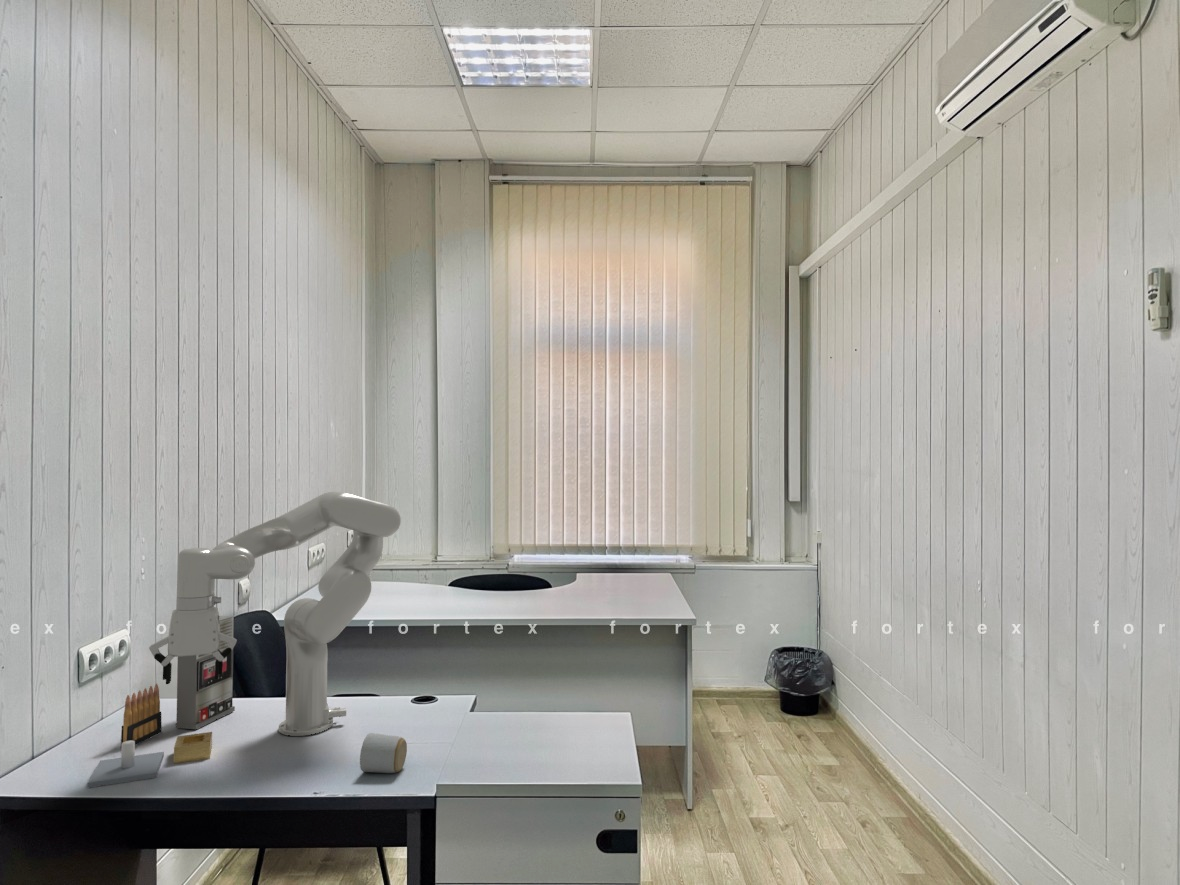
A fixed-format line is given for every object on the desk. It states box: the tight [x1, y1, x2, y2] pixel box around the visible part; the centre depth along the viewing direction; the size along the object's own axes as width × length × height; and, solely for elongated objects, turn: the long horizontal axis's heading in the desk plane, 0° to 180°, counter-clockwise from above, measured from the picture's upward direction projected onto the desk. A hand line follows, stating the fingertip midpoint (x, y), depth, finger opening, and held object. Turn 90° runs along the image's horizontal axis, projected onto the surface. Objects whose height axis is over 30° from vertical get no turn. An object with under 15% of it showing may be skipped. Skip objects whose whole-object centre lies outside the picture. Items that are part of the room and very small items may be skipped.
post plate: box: [87, 741, 165, 788], centre depth 154 cm, size 12×12×6 cm
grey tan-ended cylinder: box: [359, 732, 408, 774], centre depth 156 cm, size 11×8×8 cm
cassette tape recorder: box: [175, 615, 236, 731], centre depth 186 cm, size 14×6×25 cm, turn 168°
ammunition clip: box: [120, 683, 163, 746], centre depth 172 cm, size 11×2×12 cm, turn 171°
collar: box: [173, 731, 213, 764], centre depth 163 cm, size 7×7×4 cm
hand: (192, 680), depth 163 cm, fingers open, 9 cm apart
